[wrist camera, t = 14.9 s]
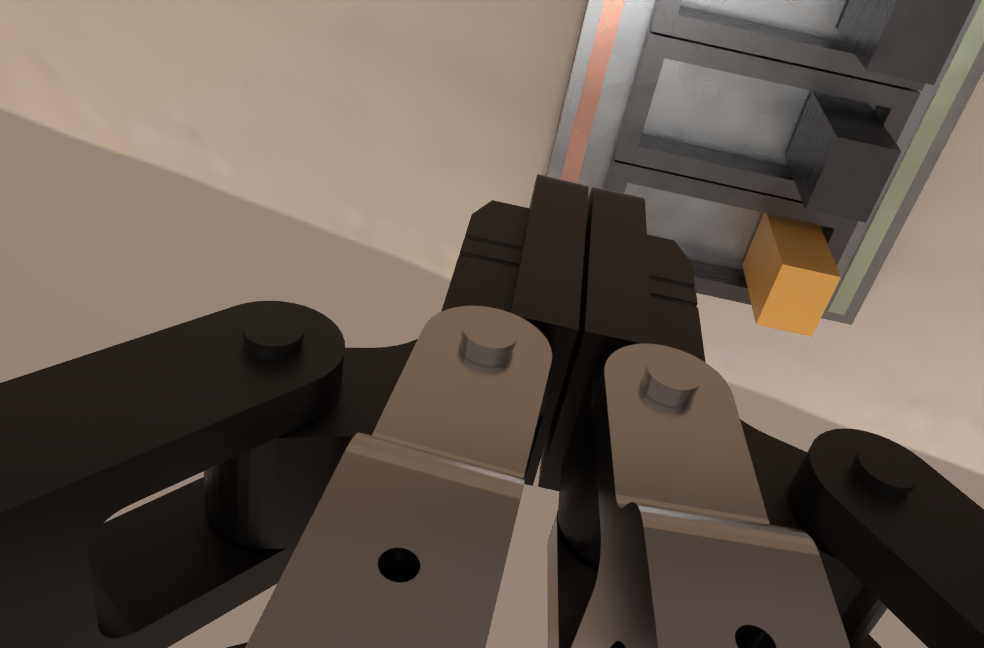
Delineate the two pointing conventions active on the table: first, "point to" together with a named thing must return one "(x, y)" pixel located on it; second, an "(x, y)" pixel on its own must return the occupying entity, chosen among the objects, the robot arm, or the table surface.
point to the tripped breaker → (789, 274)
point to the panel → (769, 121)
